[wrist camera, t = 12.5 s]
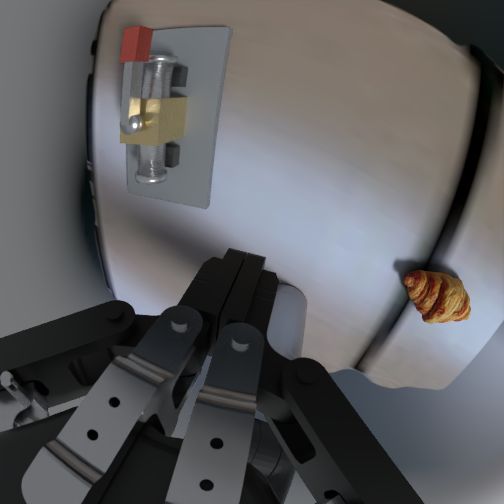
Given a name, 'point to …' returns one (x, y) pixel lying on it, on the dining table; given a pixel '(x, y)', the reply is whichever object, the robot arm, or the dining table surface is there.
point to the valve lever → (133, 76)
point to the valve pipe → (159, 119)
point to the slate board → (190, 113)
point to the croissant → (437, 296)
